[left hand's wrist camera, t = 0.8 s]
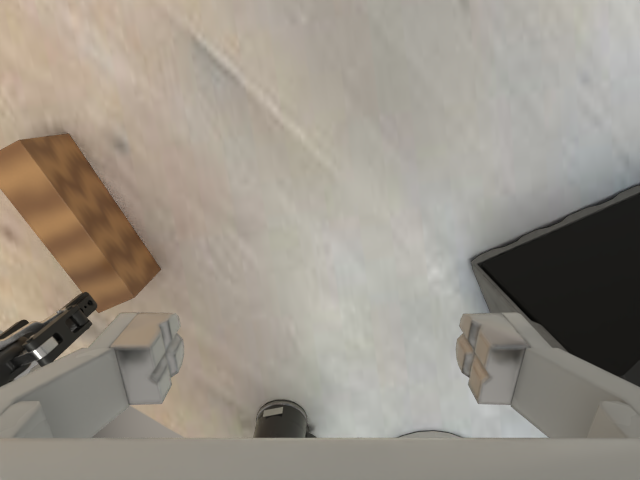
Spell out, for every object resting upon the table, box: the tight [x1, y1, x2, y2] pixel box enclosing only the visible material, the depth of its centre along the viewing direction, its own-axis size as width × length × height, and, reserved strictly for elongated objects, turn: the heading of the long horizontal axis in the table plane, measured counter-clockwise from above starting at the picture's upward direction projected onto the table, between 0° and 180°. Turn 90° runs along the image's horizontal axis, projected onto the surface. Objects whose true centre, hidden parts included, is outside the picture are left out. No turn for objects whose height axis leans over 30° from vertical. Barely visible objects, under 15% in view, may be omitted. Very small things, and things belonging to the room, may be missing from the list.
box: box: [0, 134, 161, 313], centre depth 49 cm, size 22×6×9 cm, turn 24°
